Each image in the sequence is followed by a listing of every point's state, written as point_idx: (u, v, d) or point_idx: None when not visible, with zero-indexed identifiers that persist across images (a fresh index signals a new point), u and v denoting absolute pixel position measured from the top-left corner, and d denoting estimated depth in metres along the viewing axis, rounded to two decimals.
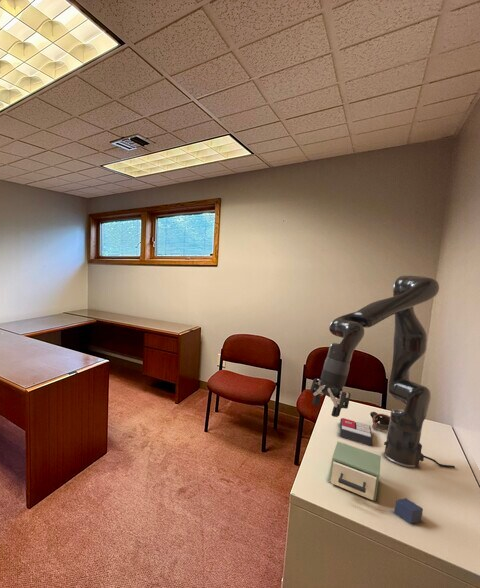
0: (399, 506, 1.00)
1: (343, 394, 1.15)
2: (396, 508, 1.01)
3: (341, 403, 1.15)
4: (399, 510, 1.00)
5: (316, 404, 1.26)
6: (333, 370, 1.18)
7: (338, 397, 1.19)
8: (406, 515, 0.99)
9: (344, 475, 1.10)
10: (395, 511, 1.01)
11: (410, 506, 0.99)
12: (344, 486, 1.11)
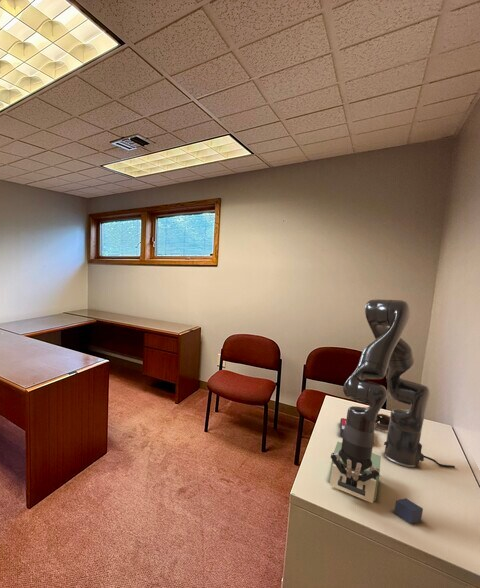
0: (399, 506, 1.00)
1: (376, 474, 1.00)
2: (396, 508, 1.01)
3: (366, 478, 1.02)
4: (399, 510, 1.00)
5: None
6: (365, 444, 1.00)
7: None
8: (406, 515, 0.99)
9: (343, 478, 1.09)
10: (395, 511, 1.01)
11: (410, 506, 0.99)
12: (343, 489, 1.09)
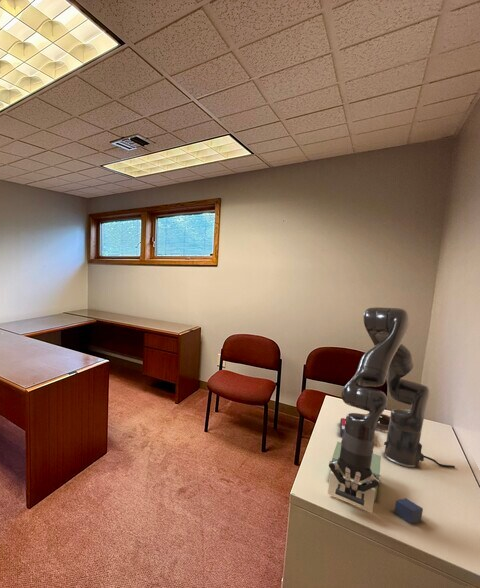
0: (399, 506, 1.00)
1: (376, 484, 0.96)
2: (396, 508, 1.01)
3: (365, 488, 0.98)
4: (399, 510, 1.00)
5: None
6: (365, 453, 0.96)
7: None
8: (406, 515, 0.99)
9: (341, 486, 1.05)
10: (395, 511, 1.01)
11: (410, 506, 0.99)
12: (342, 497, 1.05)
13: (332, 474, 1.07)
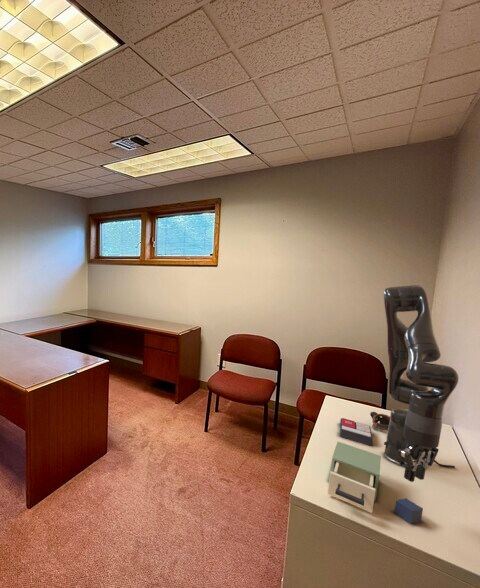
0: (399, 506, 1.00)
1: (437, 451, 0.98)
2: (396, 508, 1.01)
3: (432, 461, 0.98)
4: (399, 510, 1.00)
5: None
6: (440, 430, 0.94)
7: None
8: (406, 515, 0.99)
9: (341, 486, 1.05)
10: (395, 511, 1.01)
11: (410, 506, 0.99)
12: (342, 497, 1.05)
13: (332, 474, 1.07)
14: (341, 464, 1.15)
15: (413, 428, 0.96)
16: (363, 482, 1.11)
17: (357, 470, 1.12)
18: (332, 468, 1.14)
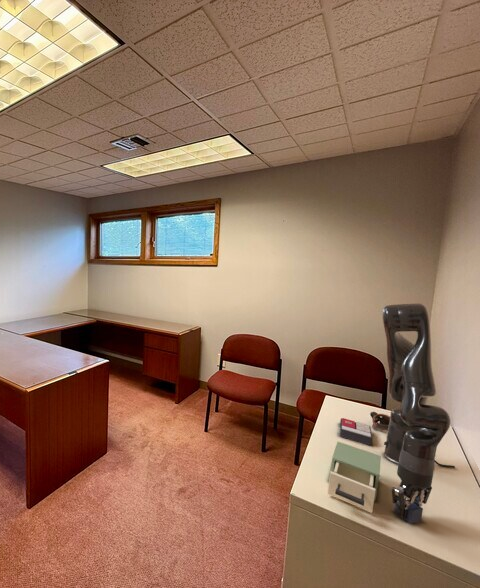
0: None
1: (430, 489, 0.99)
2: (396, 508, 1.01)
3: (426, 499, 1.00)
4: None
5: None
6: (433, 470, 0.96)
7: None
8: None
9: (341, 486, 1.05)
10: (395, 511, 1.01)
11: (410, 506, 0.99)
12: (342, 497, 1.05)
13: (332, 474, 1.07)
14: (341, 464, 1.15)
15: (406, 468, 0.97)
16: (363, 482, 1.11)
17: (357, 470, 1.12)
18: (332, 468, 1.14)
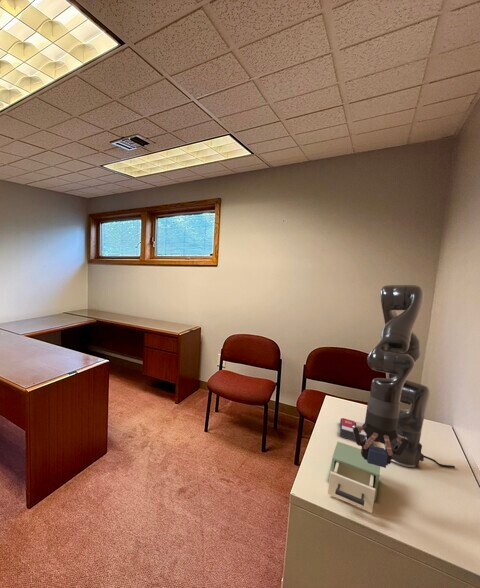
0: None
1: (406, 442, 0.98)
2: None
3: (400, 451, 0.99)
4: None
5: None
6: (394, 415, 0.98)
7: None
8: None
9: (341, 486, 1.05)
10: None
11: (375, 449, 1.03)
12: (342, 497, 1.05)
13: (332, 474, 1.07)
14: (341, 464, 1.15)
15: (367, 408, 1.03)
16: (363, 482, 1.11)
17: (357, 470, 1.12)
18: (332, 468, 1.14)
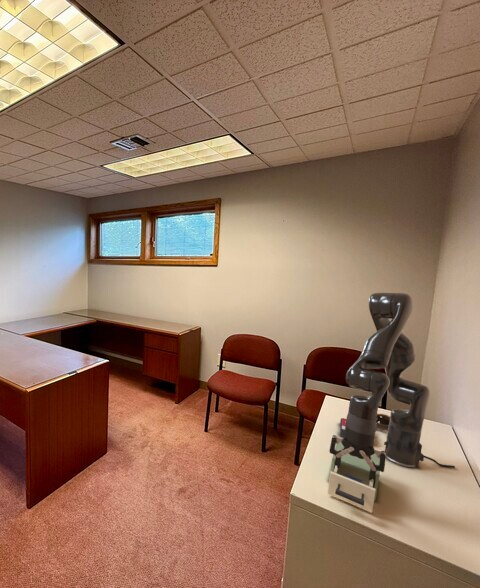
0: None
1: (383, 457, 1.00)
2: None
3: (382, 466, 1.01)
4: None
5: (339, 466, 1.09)
6: (368, 432, 1.01)
7: None
8: None
9: (341, 486, 1.05)
10: None
11: None
12: (342, 497, 1.05)
13: (332, 474, 1.07)
14: (341, 464, 1.15)
15: None
16: (363, 482, 1.11)
17: (357, 470, 1.12)
18: (332, 468, 1.14)
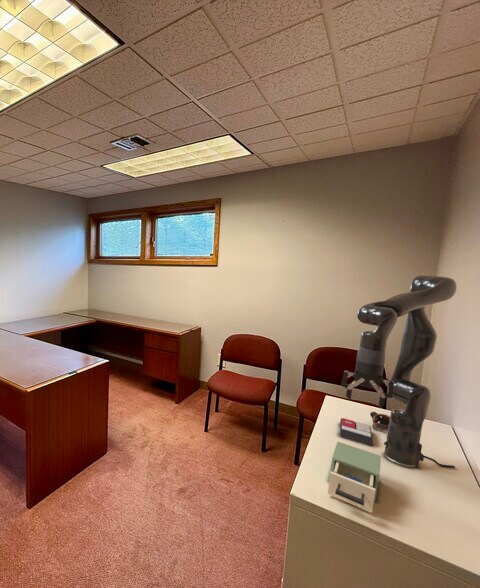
0: None
1: (391, 384, 1.11)
2: None
3: (391, 393, 1.11)
4: None
5: (350, 397, 1.20)
6: (378, 362, 1.12)
7: None
8: None
9: (341, 486, 1.05)
10: None
11: None
12: (342, 497, 1.05)
13: (332, 474, 1.07)
14: (341, 464, 1.15)
15: None
16: (363, 482, 1.11)
17: (357, 470, 1.12)
18: (332, 468, 1.14)
